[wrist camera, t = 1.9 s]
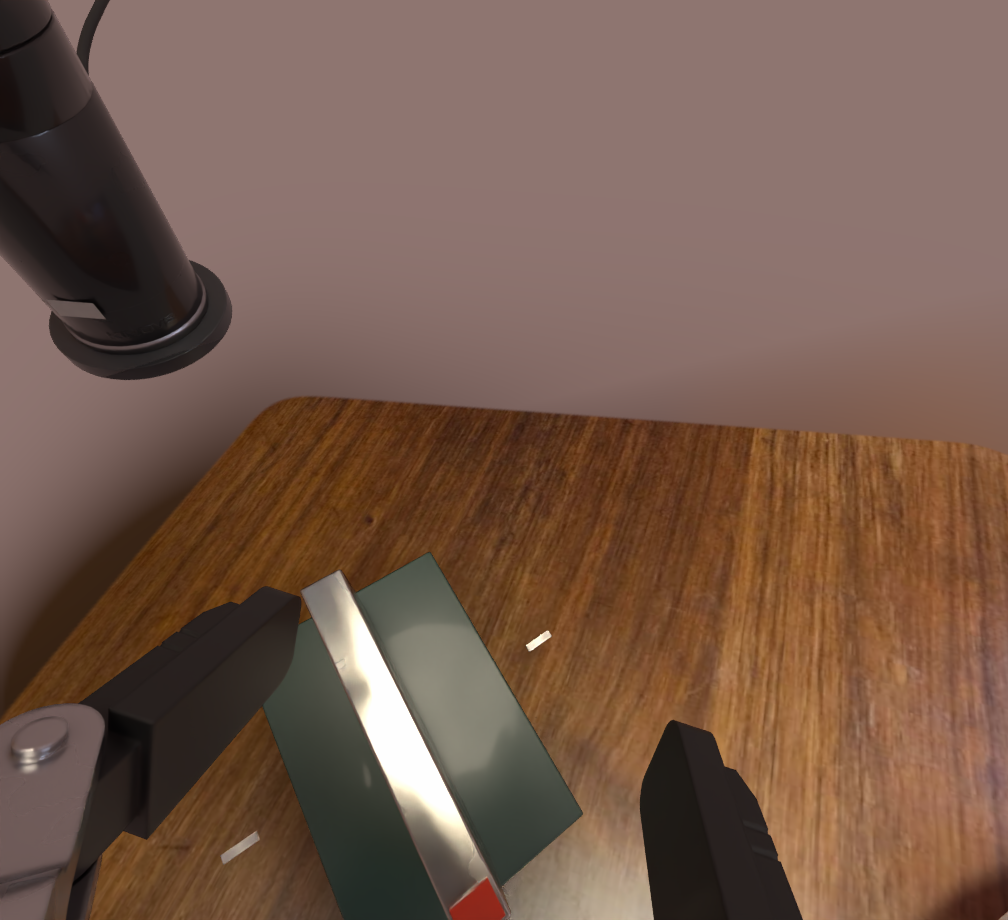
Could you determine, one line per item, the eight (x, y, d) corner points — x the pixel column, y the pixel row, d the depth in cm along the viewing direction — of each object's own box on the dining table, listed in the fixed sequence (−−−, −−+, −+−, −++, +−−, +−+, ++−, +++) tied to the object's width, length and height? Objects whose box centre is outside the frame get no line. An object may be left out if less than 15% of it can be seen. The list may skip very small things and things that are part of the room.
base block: (194, 678, 25) (163, 671, 22) (466, 527, 30) (468, 507, 27) (321, 1059, 19) (301, 1117, 16) (629, 785, 24) (652, 792, 22)
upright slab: (335, 625, 24) (297, 588, 17) (365, 607, 24) (339, 566, 18) (458, 886, 19) (466, 963, 13) (492, 858, 20) (514, 919, 14)
